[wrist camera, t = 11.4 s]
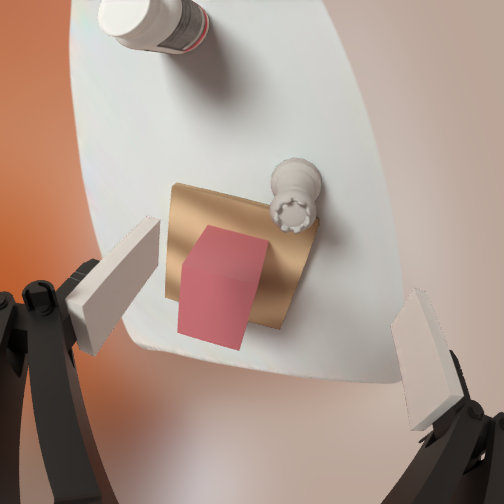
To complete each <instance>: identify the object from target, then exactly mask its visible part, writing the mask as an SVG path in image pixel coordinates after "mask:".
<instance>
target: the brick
mask: <svg viewBox="0 0 504 504" xmlns="http://www.w3.org/2000/svg"><path fill="white" fill-rule="evenodd" d="M268 242H269V241H268V240H265V239H261V238H257V237H253V236H249V235H246V234H242V233H238V232H234V231H230V230H227V229H223V228H219V227H215V226H211V225H207V226H206V228H205V229H204V231H203V233H202V234H201V236H200V237H199V239H198V240H197V242H196V243H195V245H194V247H193V248H192V250H191V251H190V253H189V254H188V256H187V258H186V259H185V261H184V262H183V264H182V271H181V283H180V297H179V312H178V331H177V333H181V334H184V335H187V336H190V337H193V338H197V339H200V340H203V341H207V342H210V343H214V344H217V345H221V346H224V347H228V348H231V349H235V350H239V349H240V346H241V343H242V339H243V336H244V332H245V329H246V325H247V322H248V318H249V315H250V311H251V308H252V304H253V301H254V297H255V294H256V290H257V287H258V283H259V279H260V275H261V271H262V267H263V263H264V258H265V254H266V250H267V246H268Z"/></svg>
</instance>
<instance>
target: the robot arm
mask: <svg viewBox="0 0 504 504" xmlns="http://www.w3.org/2000/svg"><path fill="white" fill-rule="evenodd" d="M159 234H160V219H156V218H152V217H148V216H146V217H145V218H144V219H143V220H142V221H141V222H140V223H139V224H138V225H137V226H136V227H134V228H133V229H132V230H131V231H130V232H129V233H128V234H127V235H126V236H125V237H124V238H123V239H122V240H121V241H120V242H119V243H118V244H117V245H116V246H115V247H114V248H113V249H112V250H111V251H110V252H109V253H108V254H107V255H106V256H105V257H104V258H103V259H102V260H101V261H98V260H95V259H91V260H89V261H87V262H85V263H83V264H82V265H81V266H80V267H79V268H78V269H77V270H76V272H74V273H73V274H72V275H71V276H70V278H68V279H67V280H66V281H65V282H64V283H63V284H62V285H61V286H60V287H59V288H58V290H57V291H56V292H55V289H54V286H53V285H52V284H51V283H50V282H48V281H45V280H37V281H34V282H32V283H30V284H28V285H27V286H26V287H25V288H24V290H23V292H22V297H23V300H24V303H25V304H20V303H15V300H14V298H13V295H12V294H10V293H9V292H5V291H4V292H0V504H20V488H19V445H20V427H21V416H22V406H23V398H24V389H25V383H26V377H27V371H28V365H29V374H30V385H31V394H32V402H33V409H34V416H35V422H36V427H37V433H38V438H39V443H40V448H41V452H42V456H43V460H44V464H45V468H46V472H47V475H48V479H49V482H50V486H51V489H52V492H53V495H54V504H119V503H118V501H117V499H116V497H115V494H114V492H113V489H112V487H111V485H110V482H109V480H108V477H107V475H106V472H105V469H104V467H103V464H102V461H101V458H100V455H99V452H98V450H97V446H96V443H95V440H94V437H93V434H92V430H91V427H90V424H89V420H88V416H87V413H86V409H85V405H84V401H83V397H82V393H81V389H80V384H79V380H78V375H77V370H76V365H75V359H74V354H73V350H72V346H73V345H74V343H75V342H76V341H77V344H78V346H79V349H80V350H81V351H83V352H86V353H88V354H90V355H92V356H94V357H95V356H96V354H97V353H98V351H99V350H100V348H101V347H102V345H103V343H104V342H105V341H106V339H107V337H108V336H109V334H110V333H111V332H112V330H113V329H114V327H115V326H116V324H117V322H118V321H119V319H120V318H121V317H122V315H123V314H124V312H125V311H126V310H127V308H128V307H129V305H130V304H131V302H132V301H133V300H134V298H135V297H136V295H137V294H138V292H139V291H140V290H141V288H142V287H143V285H144V284H145V283H146V281H147V280H148V279H149V277H150V276H151V274H152V273H153V272H154V270H155V269H156V268H157V266H158V256H159ZM391 330H392V335H393V339H394V343H395V348H396V352H397V357H398V361H399V366H400V371H401V376H402V381H403V387H404V392H405V398H406V404H407V410H408V417H409V424H410V430H411V431H424V430H425V429H427V428H428V427H429V426H430V425H432V424H433V431H431V432H430V433H429V434H428V435H427V436H425V437H424V438H422V439H421V440H420V441H419V443H421V442H423V441H424V443H423V445H422V446H421V448H420V450H419V451H418V453H417V454H416V456H415V458H414V459H413V461H412V462H411V463H410V465H409V466H408V468H407V469H406V471H405V472H404V474H403V475H402V477H401V478H400V479H399V481H398V482H397V483H396V485H395V486H394V487H393V489H392V490H391V491H390V493H389V494H388V495H387V496H386V498H385V499H384V500H383V502H382V503H381V504H504V413H503V412H500V413H498V414H497V415H496V416H495V417H493V418H491V417H489V416H487V415H484V411H483V409H482V407H481V405H480V404H479V403H478V402H476V401H474V400H471V399H470V395H469V392H468V389H467V386H466V382H465V379H464V377H463V376H462V375H463V373H462V370H461V369H460V364H459V361H458V359H457V357H456V356H455V354H454V353H453V351H452V350H449V349H448V346H447V343H446V340H445V338H444V335H443V332H442V330H441V327H440V325H439V322H438V320H437V317H436V315H435V313H434V310H433V308H432V305H431V303H430V301H429V298H428V296H427V294H426V292H425V291H423V290H419V289H416V288H414V289H413V290H412V292H411V294H410V295H409V297H408V299H407V300H406V302H405V304H404V305H403V307H402V308H401V310H400V312H399V313H398V315H397V316H396V318H395V320H394V321H393V323H392V324H391ZM484 453H485V457H484V459H483V460H481V455H483V454H484Z"/></svg>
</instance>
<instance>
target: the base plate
mask: <svg viewBox="0 0 504 504" xmlns="http://www.w3.org/2000/svg"><path fill="white" fill-rule="evenodd" d="M269 211H270V205H267V204H263V203H259V202H255V201H252V200H248V199H244V198H240V197H236V196H232V195H228V194H223V193H219V192H215V191H211V190H207V189H203V188H198V187H194V186H190V185H185V184H181V183H176V184H174V185H173V186H172V191H171V202H170V213H169V226H168V241H167V258H166V281H165V298H169V299H172V300H175V301H178V302H179V297H180V283H181V271H182V264H183V262H184V261H185V259H186V258H187V256H188V254H189V253H190V251H191V250H192V248H193V247H194V245H195V243H196V242H197V240H198V239H199V237H200V236H201V234H202V233H203V231H204V229H205V228H206V226H207V225H211V226H215V227H219V228H223V229H227V230H230V231H234V232H238V233H242V234H246V235H249V236H253V237H257V238H261V239H265V240H268V241H269V242H268V246H267V250H266V254H265V258H264V263H263V267H262V271H261V275H260V279H259V283H258V287H257V290H256V294H255V297H254V301H253V304H252V308H251V311H250V315H249V318H248V322H252V323H256V324H260V325H263V326H267V327H271V328H275V329H279V330H280V328H281V326H282V323H283V320H284V318H285V315H286V313H287V310H288V308H289V305H290V303H291V300H292V297H293V295H294V292H295V290H296V287H297V284H298V282H299V279H300V276H301V274H302V271H303V268H304V265H305V263H306V260H307V257H308V255H309V252H310V249H311V246H312V243H313V241H314V238H315V235H316V232H317V229H318V226H319V219H318V218H316V219H315V221H314V222H313V224H312V225H311V226H310V227H309V228H307V229H306V230H304V231H301V233H298V234H294V233H293V232H287V233H285V232H283V231H281V230H280V228H278V227H277V226H276V225H275V223H274V222H273V221H272V219H271V216H270V213H269Z"/></svg>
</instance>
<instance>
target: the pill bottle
mask: <svg viewBox="0 0 504 504" xmlns="http://www.w3.org/2000/svg"><path fill="white" fill-rule="evenodd" d="M98 23H99V26H100V28H101V30H102V31H103V32H104V33H105V34H107V35H109V36H113V37H115V38H116V40H117V41H118V42H119V43H120V44H122V45H123V46H125V47H127V48H130V49H135V50H144V51H152V52H160V53H166V54H183V53H186V52H189V51H191V50H193V49H195V48H196V47H197V46H198V45H199V44H200V43H201V42H202V41H203V40H204V38H205V37H206V35H207V32H208V29H209V19H208V15H207V13H206V12H205V10H204V9H203V8H202V7H201V6H199V5H198V4H196V3H195V2H193V1H192V0H103V1H102V3H101V5H100V8H99V11H98Z"/></svg>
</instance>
